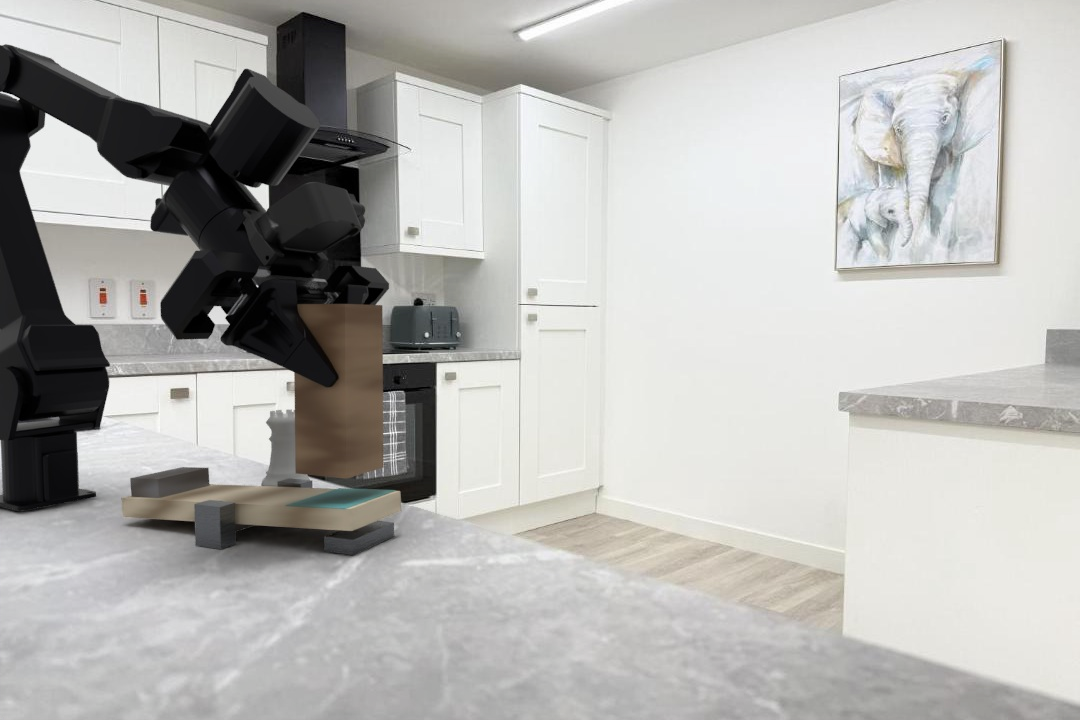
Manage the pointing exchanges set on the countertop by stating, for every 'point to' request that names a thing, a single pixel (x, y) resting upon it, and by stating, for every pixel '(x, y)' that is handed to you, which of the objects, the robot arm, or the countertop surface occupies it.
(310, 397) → the column
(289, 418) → the rook chess piece
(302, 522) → the seesaw beam
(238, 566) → the countertop surface
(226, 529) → the seesaw stand
